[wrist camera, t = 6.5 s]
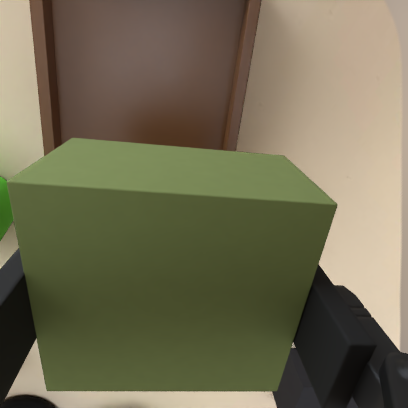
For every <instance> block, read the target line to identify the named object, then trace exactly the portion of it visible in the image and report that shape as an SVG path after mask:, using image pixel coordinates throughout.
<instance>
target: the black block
mask: <svg viewBox="0 0 408 408" xmlns="http://www.w3.org/2000/svg"><path fill="white" fill-rule="evenodd" d="M273 395H274V399H275V402H276V405H277V408H321V406H320V403H319V401H318V399H317V396H316V394H315V392H314V389H313V387H312V385H311V382H310V380H309V378H308V375H307V373H306V371H305V368H304V366H303V364H302V361H301V359H300V357H299V354H298V352H297V349H296V348H291V350H290V353H289V356H288V359H287V362H286V365H285V368H284V371H283V374H282V377H281V380H280V383H279V386H278V389H277V391H273ZM347 408H358V406H357V404H356V403H355V401H354V399H353V397H352V398H351V400H350V402H349V404H348V406H347Z"/></svg>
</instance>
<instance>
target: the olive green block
mask: <svg viewBox="0 0 408 408" xmlns="http://www.w3.org/2000/svg"><path fill="white" fill-rule="evenodd" d="M7 188H8V193H9V198H10V203H11V208H12V214H13V219H14V224H15V229H16V234H17V239H18V245H19V250H20V255H21V260H22V265H23V271H24V273H25V278H26V283H27V289H28V294H29V299H30V305H31V310H32V315H33V321H34V326H35V331H36V337H37V343H38V348H39V353H40V358H41V364H42V369H43V374H44V379H45V384H46V389H47V391H277V389H278V386H279V383H280V380H281V377H282V374H283V371H284V368H285V365H286V362H287V359H288V356H289V353H290V350H291V346H292V343H293V340H294V337H295V334H296V331H297V328H298V325H299V322H300V319H301V316H302V313H303V310H304V306H305V303H306V300H307V297H308V294H309V291H310V288H311V285H312V282H313V279H314V276H315V273H316V270H317V267H318V263H319V260H320V257H321V254H322V251H323V248H324V245H325V242H326V239H327V236H328V233H329V230H330V227H331V224H332V220H333V217H334V214H335V211H336V208H337V203H336V202H334V201H333V200H332V199H331V198H330V197H329V196H328V195H327V194H326V193H325V192H324V191H322V190H321V189H320V188H319V187H318V186H317V185H316V184H315V183H314V182H313V181H311V180H310V179H309V178H308V177H307V176H306V175H305V174H304V173H303V172H302V171H300V170H299V169H298V168H297V167H296V166H295V165H294V164H293V163H292V162H291V161H290V160H288V159H287V158H286V157H285V156H283V155H271V154H259V153H248V152H236V151H224V150H212V149H200V148H189V147H177V146H165V145H153V144H141V143H130V142H118V141H106V140H94V139H82V138H71V139H70V140H68V141H67V142H65V143H64V144H62V145H61V146H59V147H58V148H56V149H55V150H53V151H52V152H50V153H49V154H47V155H46V156H44V157H43V158H41V159H40V160H38V161H37V162H35V163H34V164H32V165H31V166H29V167H28V168H26V169H25V170H23V171H22V172H20V173H19V174H17V175H16V176H14V177H13V178H11V179H10V180H8V181H7Z"/></svg>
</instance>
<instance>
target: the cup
mask: <svg viewBox="0 0 408 408" xmlns="http://www.w3.org/2000/svg"><path fill="white" fill-rule="evenodd" d="M13 220H14V219H13V214H12V208H11V203H10V198H9V193H8V188H7V181H6V180H5V179H4V178H2V177H0V241H1V239H2V238H3V236H4V235H5V233H6V231H7V230H8V228H9V227H10V225H11V223H12V222H13Z"/></svg>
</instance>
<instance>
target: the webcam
mask: <svg viewBox="0 0 408 408" xmlns="http://www.w3.org/2000/svg"><path fill="white" fill-rule="evenodd" d="M0 408H55V407H54V406H52V405H51V404H50V403H48V402H47V401H45V400H42V399H39V398H37V397H29V396H22V397H15V398H11V399H9V400H7V401H5V402H3V404H2V405H1V407H0Z"/></svg>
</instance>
